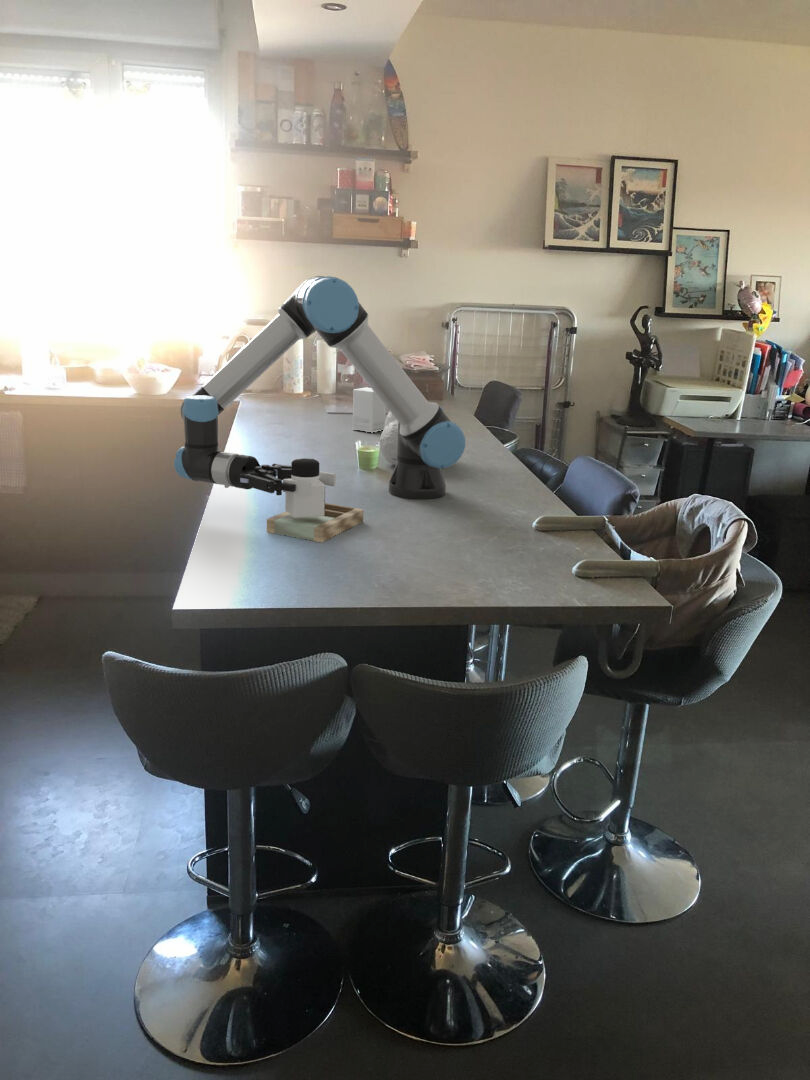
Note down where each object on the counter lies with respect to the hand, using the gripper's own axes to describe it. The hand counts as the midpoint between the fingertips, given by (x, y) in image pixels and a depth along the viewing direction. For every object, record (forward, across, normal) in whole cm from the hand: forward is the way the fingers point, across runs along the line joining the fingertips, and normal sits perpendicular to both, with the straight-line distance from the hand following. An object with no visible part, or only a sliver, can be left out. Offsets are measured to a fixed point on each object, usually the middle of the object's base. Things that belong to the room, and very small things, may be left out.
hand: (322, 484), depth 187 cm
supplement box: (-50, -120, -12) cm, 131 cm away
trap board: (-4, -5, -11) cm, 13 cm away
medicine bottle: (-4, 0, -7) cm, 8 cm away
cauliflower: (-15, -80, -12) cm, 83 cm away
